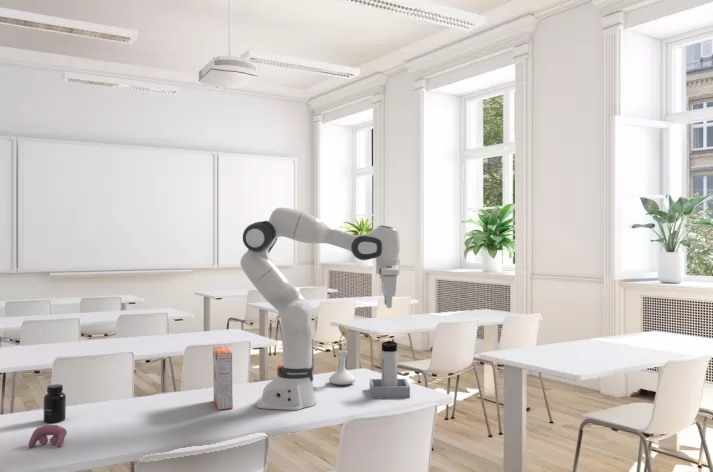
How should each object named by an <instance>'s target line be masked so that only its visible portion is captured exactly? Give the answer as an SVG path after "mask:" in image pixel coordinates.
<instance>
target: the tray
mask: <svg viewBox="0 0 713 472" xmlns="http://www.w3.org/2000/svg"><path fill="white" fill-rule="evenodd" d="M369 392H370V396H371V398H372V399H381V398H382V399H385V398H386V399H391V398H392V399H393V398H394V399H404V398H411V386H410V384H409V382H408V380H407V378H397V387H382V378H370V379H369Z"/></svg>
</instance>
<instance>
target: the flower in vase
mask: <svg viewBox="0 0 713 472" xmlns="http://www.w3.org/2000/svg"><path fill="white" fill-rule="evenodd" d="M337 327H338V331H339V332H340V335H341V336H340V339H339V341H338V342H337V346H339V348H340V350H336V352H335V353H336V354H337V356H338V361H339V366H338V369H337V371H334V373H333V374H332V375H331V376H330V377H329V378H328V382H329V383H330V384H332V385H338V386H346V385H347V386H348V385H351V384H353V383H355V381H356V378H355V376H354V375H352V374H351V373H350V372H349V371H348V370H347V369H346V367H345V365H346V364H345V363H346V356H347V354H348V351H347V350H342V349H343V348H344V347H346V343H344V345H342V346H341V341H342V340H341V339H342V337H344V339H346V340H347V341H350V340H352V338H351V337H352V335H351V334H350V332H349V329H348V328H346V327H345V325H342V324H339V325H338V326H337Z"/></svg>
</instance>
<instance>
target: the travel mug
mask: <svg viewBox="0 0 713 472" xmlns="http://www.w3.org/2000/svg"><path fill="white" fill-rule="evenodd" d="M381 379H382V387H397V379H398V343H397V342H396V341H393V340H387V341H383V342H381Z"/></svg>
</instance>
